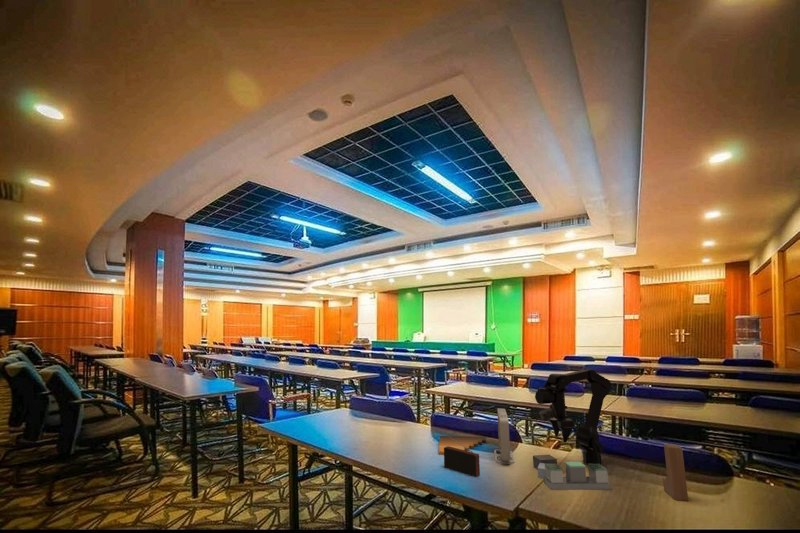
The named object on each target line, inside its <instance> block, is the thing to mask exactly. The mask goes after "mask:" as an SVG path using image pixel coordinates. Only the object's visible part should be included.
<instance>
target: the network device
mask: <svg viewBox="0 0 800 533" xmlns="http://www.w3.org/2000/svg"><path fill="white" fill-rule="evenodd" d="M496 410H497V434H498V446H499V448H496V449H494V450H493V455H494V461H495V463H498V464H506V465H513V464H515V462H516V460H515V458H514V454H513V451H512V450H511V448H510V447H511V445H510V424H509V423H510V421H509V418H508V414H507V411H506V409H505V408H496ZM497 452H499V453H497ZM498 458H500V459H501V460H498Z"/></svg>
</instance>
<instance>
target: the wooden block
mask: <svg viewBox="0 0 800 533" xmlns="http://www.w3.org/2000/svg"><path fill="white" fill-rule="evenodd" d="M663 447H664V450H663V451H664V458H665V467H666V477H662V484H663V485H662V486H663V490H664V492H666V493H667V494H668V495H669V496H670V497H671V498H672V499H673V500H674V501H683V502H684V501H685V502H686V501H689V496H688V487H687V478H686V470H685V469H686V468H685V460H684V452H683V447H681V446H679V445H678V444H674V443H664V444H663Z"/></svg>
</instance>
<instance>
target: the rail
mask: <svg viewBox="0 0 800 533" xmlns="http://www.w3.org/2000/svg"><path fill="white" fill-rule="evenodd" d="M587 467H588V469H587V470H588V476H586V482H570V481H569V480H568V479H567V478H566V476H563V468H561V466H560V465H558V463H557V464H545V477H544V479H543V483H544V484H545V485H546V487H549V489H550V490H612V489H611V483H610V482H609V475H608V474H609V473H608V469H607V468H606V467H605V466H602V465H601V464H588V466H587Z"/></svg>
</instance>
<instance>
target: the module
mask: <svg viewBox="0 0 800 533" xmlns="http://www.w3.org/2000/svg"><path fill="white" fill-rule="evenodd" d="M564 466H565V467H564V469H565V477H566V478H567V479H568V480H569V481H570V482H586V477H587V473H586V472H587V471H586V465H585V464H584V463H582V462H581V461H564Z"/></svg>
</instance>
